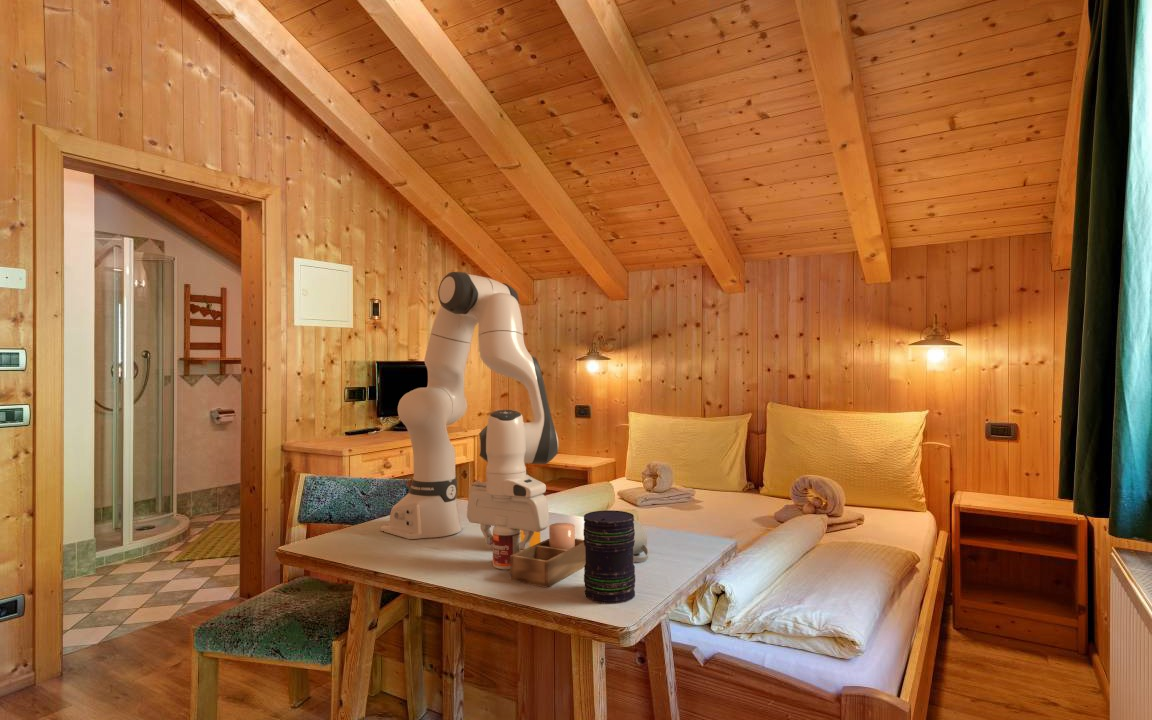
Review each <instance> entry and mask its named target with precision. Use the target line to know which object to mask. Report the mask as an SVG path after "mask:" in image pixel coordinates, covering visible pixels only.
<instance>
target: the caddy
mask: <svg viewBox="0 0 1152 720" xmlns="http://www.w3.org/2000/svg"><path fill="white" fill-rule="evenodd" d="M585 564H586V556H585V546H584V539H580V538H575V547H573V548H571V549H569V550H566V549H559V548H553V547H549V538H548V539H545V540H543V541H540V543H538V544H536V545H534V546H531V547H529V548H527V549H524V550H522V551H520V552H518V553H515V554H513V555H511V556H510V569H509V571H510V572H509V575H510V576H509V579H510V581H512V582H517V583H522V584H527V585H532V584H533V586H539V587H542V586H543V587H544V588H547V587H548V588H550V587H552V586H553V585H555V584H557V583H559V582H561V581H563V580H565V579H566V578H567V577H569V576H570V577H571V575H573V574H575V573H577V572H578V571H580V570H583V569H584V566H585ZM560 580H561V581H560ZM543 587H542V588H543Z"/></svg>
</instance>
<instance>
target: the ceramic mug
mask: <svg viewBox="0 0 1152 720" xmlns="http://www.w3.org/2000/svg"><path fill="white" fill-rule="evenodd" d="M633 523H634V530H635V536H634V540H635V542H634V546H633V563H637V562H642V563H645V562H646V561H647V560H648V558H649V556H650V550H649V548H648V547H647V544H648V536H647V533H646V530H645V528H644V527H643V525H642V524H641V522H639V521H638V520H635V519H634V521H633ZM642 553H644V554H645V556H644V555H643V556H636V555H639V554H642ZM644 561H645V562H644Z"/></svg>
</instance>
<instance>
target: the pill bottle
mask: <svg viewBox="0 0 1152 720" xmlns="http://www.w3.org/2000/svg"><path fill="white" fill-rule="evenodd" d="M495 523H496V524H498V525H497V526H493V528H492V535H493V544H492V565H493V567H494V568H495V569H498V570H510V556H511V555H513V554H515V553H518V552H520V551H521V550H520V549H519V547H520V545H519V542H521V530H519V529H512V528H508V527H506V525H508V524H509V523H508V517H504V516H497V515H495Z"/></svg>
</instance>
